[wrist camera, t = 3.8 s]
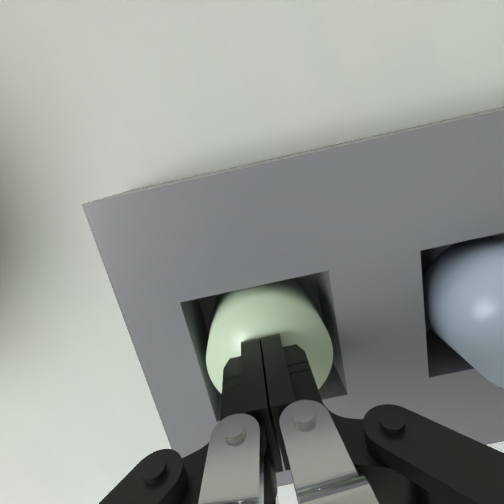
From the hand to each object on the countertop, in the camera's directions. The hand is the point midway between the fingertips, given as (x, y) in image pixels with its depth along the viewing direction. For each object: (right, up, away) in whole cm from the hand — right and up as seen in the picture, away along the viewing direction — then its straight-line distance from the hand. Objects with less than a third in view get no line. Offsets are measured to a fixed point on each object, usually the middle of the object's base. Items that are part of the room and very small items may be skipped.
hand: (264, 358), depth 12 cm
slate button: (+9, +2, +1) cm, 9 cm away
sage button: (0, +1, +3) cm, 3 cm away
